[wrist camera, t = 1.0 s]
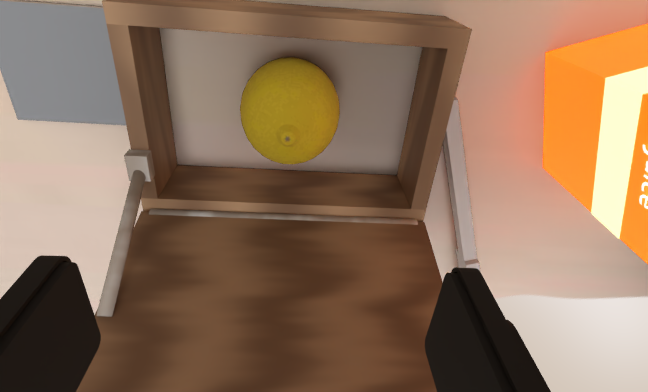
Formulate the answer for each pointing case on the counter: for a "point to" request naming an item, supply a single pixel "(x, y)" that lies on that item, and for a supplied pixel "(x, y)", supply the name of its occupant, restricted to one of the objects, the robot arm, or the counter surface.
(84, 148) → the counter surface
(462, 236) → the caliper
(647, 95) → the orange juice
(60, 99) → the coaster
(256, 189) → the case
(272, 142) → the lemon
